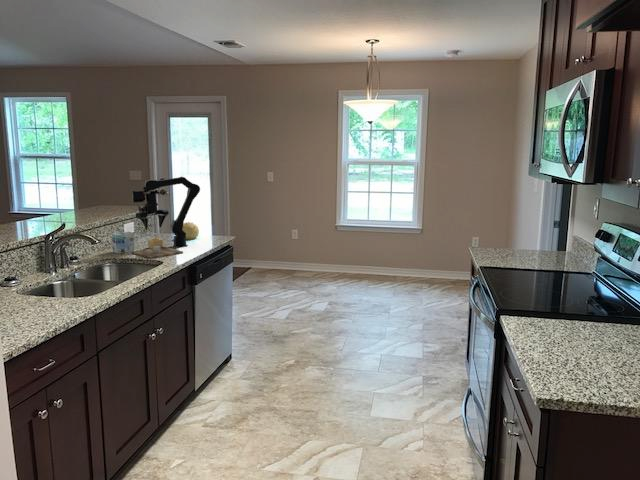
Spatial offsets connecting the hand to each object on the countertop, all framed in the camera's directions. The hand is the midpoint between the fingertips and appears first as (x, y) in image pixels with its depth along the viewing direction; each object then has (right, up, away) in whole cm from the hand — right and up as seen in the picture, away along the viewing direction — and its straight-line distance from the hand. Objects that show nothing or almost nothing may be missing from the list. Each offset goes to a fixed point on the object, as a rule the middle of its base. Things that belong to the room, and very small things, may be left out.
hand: (153, 228), depth 298 cm
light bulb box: (-14, -14, -8) cm, 21 cm away
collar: (0, -11, +3) cm, 12 cm away
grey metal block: (+7, -15, -15) cm, 23 cm away
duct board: (+6, -14, -12) cm, 20 cm away
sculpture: (+13, -6, +34) cm, 36 cm away
